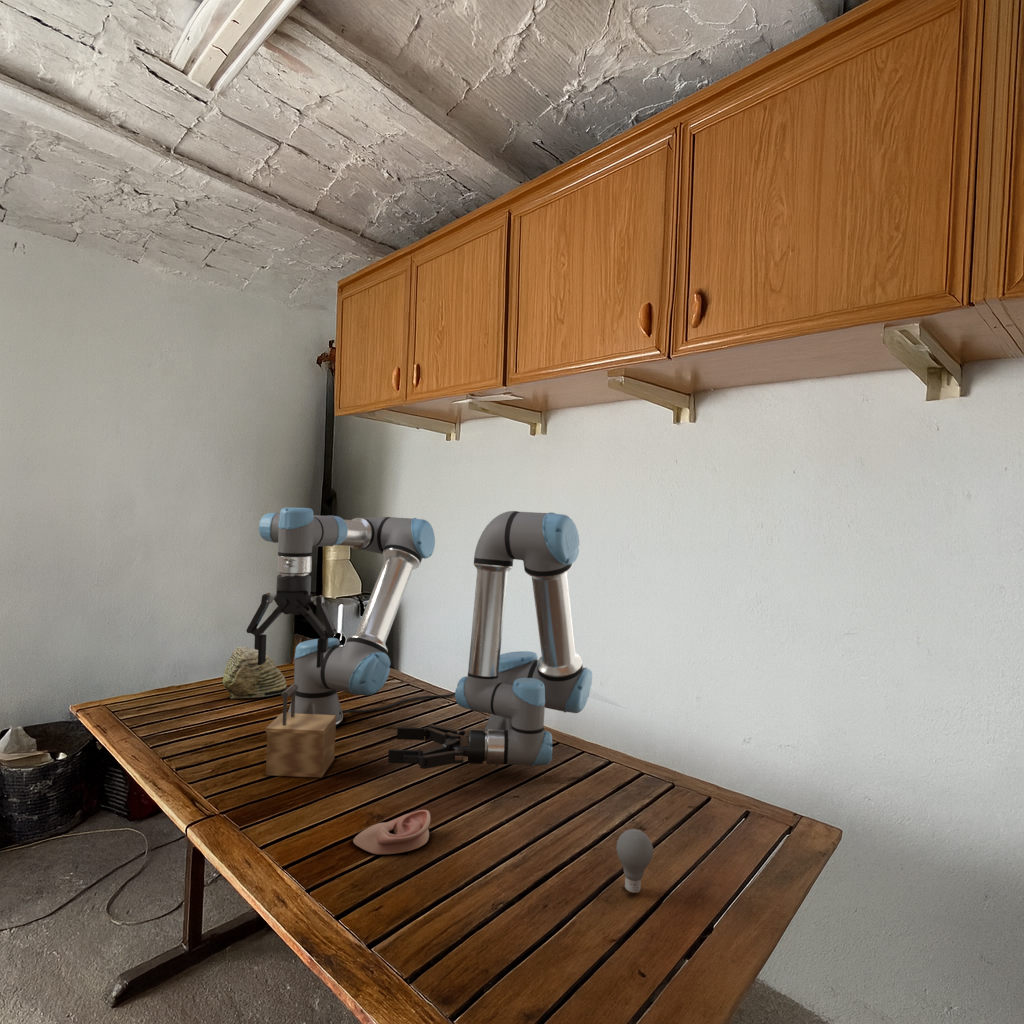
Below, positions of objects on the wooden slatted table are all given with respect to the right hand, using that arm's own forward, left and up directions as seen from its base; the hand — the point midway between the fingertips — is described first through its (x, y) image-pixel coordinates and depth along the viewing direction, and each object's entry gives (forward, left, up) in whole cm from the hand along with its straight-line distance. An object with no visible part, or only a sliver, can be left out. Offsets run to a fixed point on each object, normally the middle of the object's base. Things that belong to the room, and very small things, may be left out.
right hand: (392, 744), depth 146 cm
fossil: (+26, -69, -7) cm, 74 cm away
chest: (+19, -11, -7) cm, 23 cm away
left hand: (+22, -12, +17) cm, 30 cm away
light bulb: (-26, +57, -7) cm, 63 cm away
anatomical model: (+7, +28, -7) cm, 29 cm away
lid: (+19, -11, +3) cm, 22 cm away
